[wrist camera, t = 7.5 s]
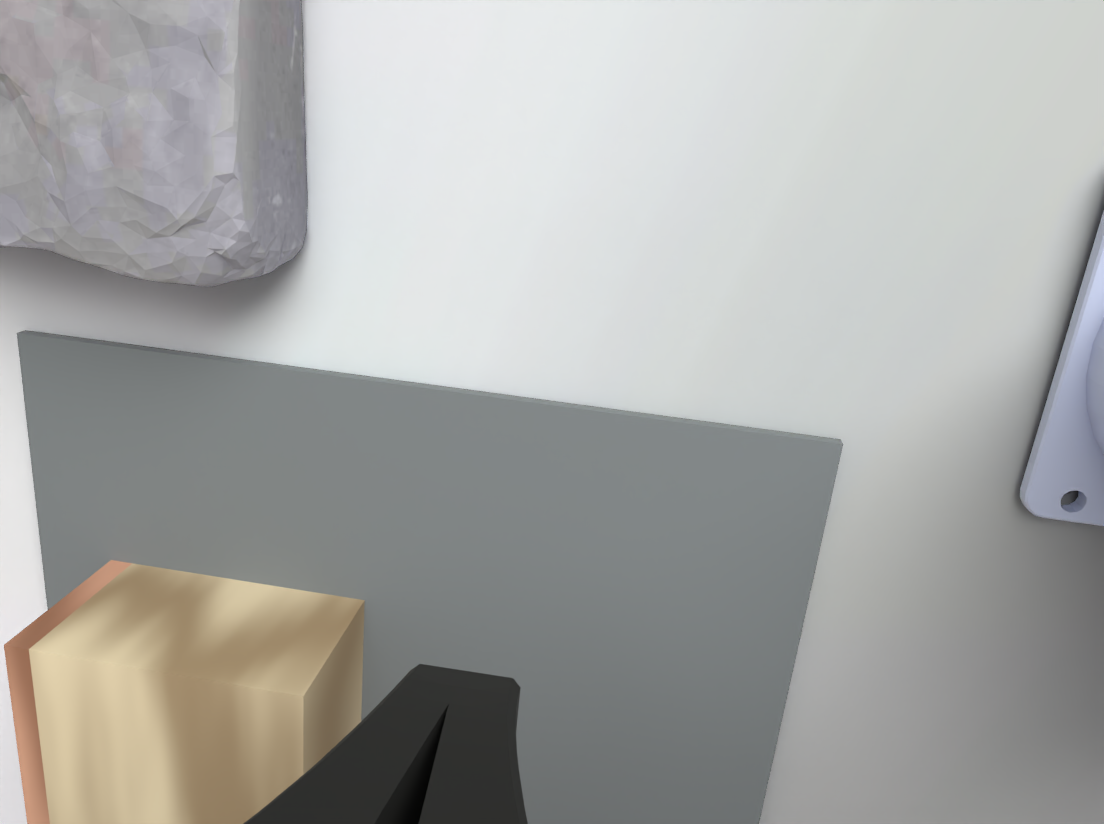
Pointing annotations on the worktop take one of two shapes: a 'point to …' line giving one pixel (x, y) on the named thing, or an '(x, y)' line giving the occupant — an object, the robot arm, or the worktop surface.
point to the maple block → (179, 696)
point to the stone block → (154, 135)
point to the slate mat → (467, 548)
